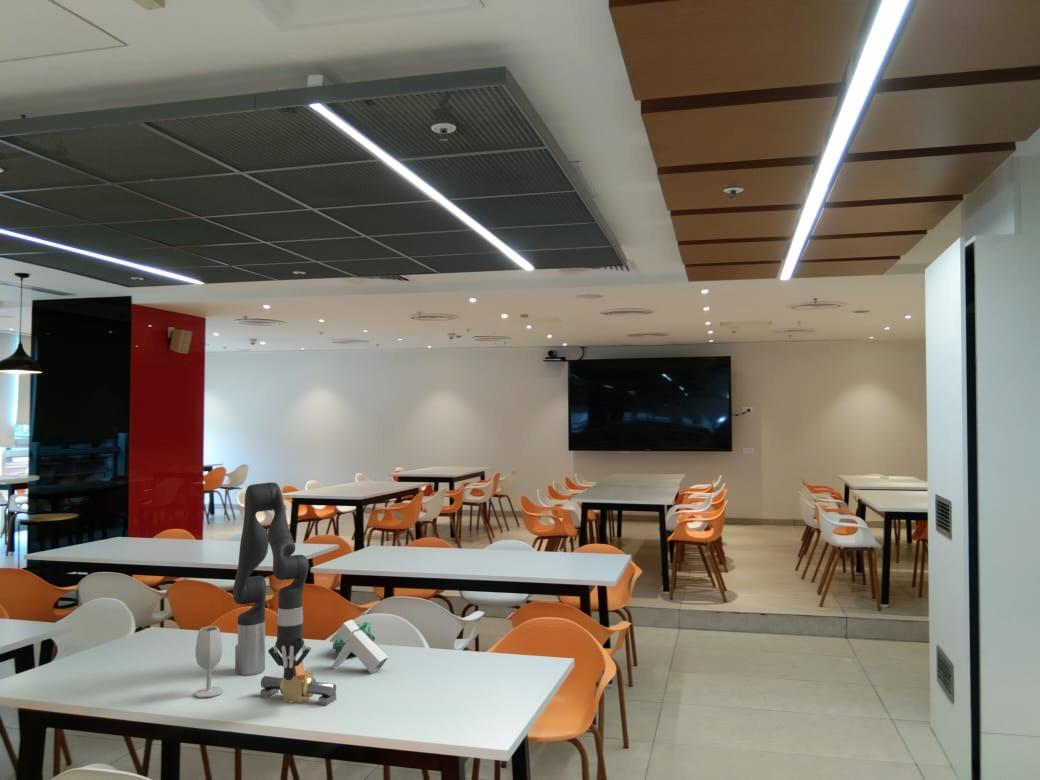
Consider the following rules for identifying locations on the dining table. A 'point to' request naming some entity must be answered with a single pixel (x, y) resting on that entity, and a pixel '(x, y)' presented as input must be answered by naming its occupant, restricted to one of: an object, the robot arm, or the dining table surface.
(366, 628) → the mineral
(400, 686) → the dining table surface
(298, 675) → the lever
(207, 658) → the wineglass
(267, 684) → the valve
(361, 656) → the faucet
